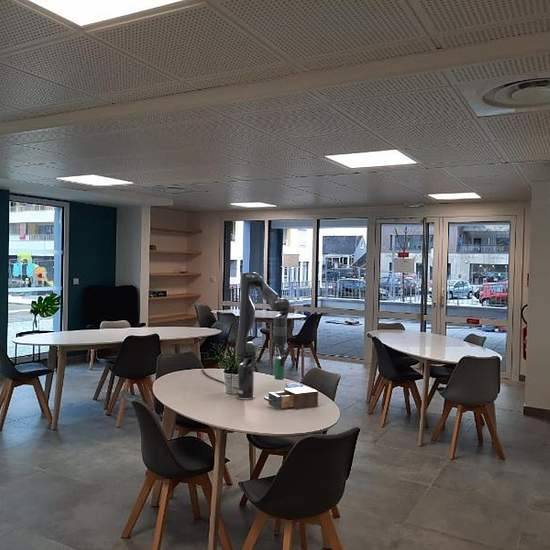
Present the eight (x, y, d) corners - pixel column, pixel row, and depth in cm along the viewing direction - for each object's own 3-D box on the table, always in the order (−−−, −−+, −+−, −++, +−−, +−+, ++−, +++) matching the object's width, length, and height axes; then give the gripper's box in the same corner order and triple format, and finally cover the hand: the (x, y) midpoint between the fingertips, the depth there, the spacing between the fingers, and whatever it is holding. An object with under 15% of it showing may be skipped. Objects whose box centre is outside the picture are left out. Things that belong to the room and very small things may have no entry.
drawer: (271, 410, 289) (271, 397, 289) (261, 405, 299) (262, 392, 299) (299, 406, 297) (299, 394, 297) (289, 402, 308) (289, 390, 308)
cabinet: (294, 409, 295) (295, 393, 295) (284, 404, 307) (284, 388, 307) (317, 406, 302) (318, 391, 302) (306, 401, 313) (306, 386, 313)
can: (272, 378, 295) (273, 356, 295) (281, 377, 298) (281, 356, 297) (277, 380, 290) (277, 358, 290) (285, 379, 293) (286, 357, 293)
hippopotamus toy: (309, 397, 323) (310, 381, 323) (290, 400, 314) (290, 384, 314) (298, 394, 332) (298, 378, 332) (279, 397, 323) (279, 381, 323)
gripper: (292, 335, 289) (291, 367, 289) (279, 332, 302) (279, 362, 302) (280, 336, 286) (279, 368, 286) (268, 333, 298) (267, 363, 298)
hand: (279, 365), depth 294 cm, fingers closed on can, 5 cm apart
